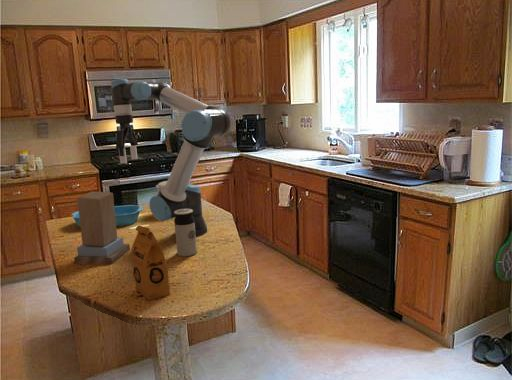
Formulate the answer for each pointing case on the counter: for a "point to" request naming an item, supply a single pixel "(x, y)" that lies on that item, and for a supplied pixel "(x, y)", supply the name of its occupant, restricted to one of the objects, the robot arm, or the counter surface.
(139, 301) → the counter surface
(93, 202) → the wooden block
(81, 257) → the walnut slab
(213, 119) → the robot arm
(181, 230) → the travel mug
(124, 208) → the casserole dish
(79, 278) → the counter surface
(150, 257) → the coffee package
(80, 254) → the slate slab
